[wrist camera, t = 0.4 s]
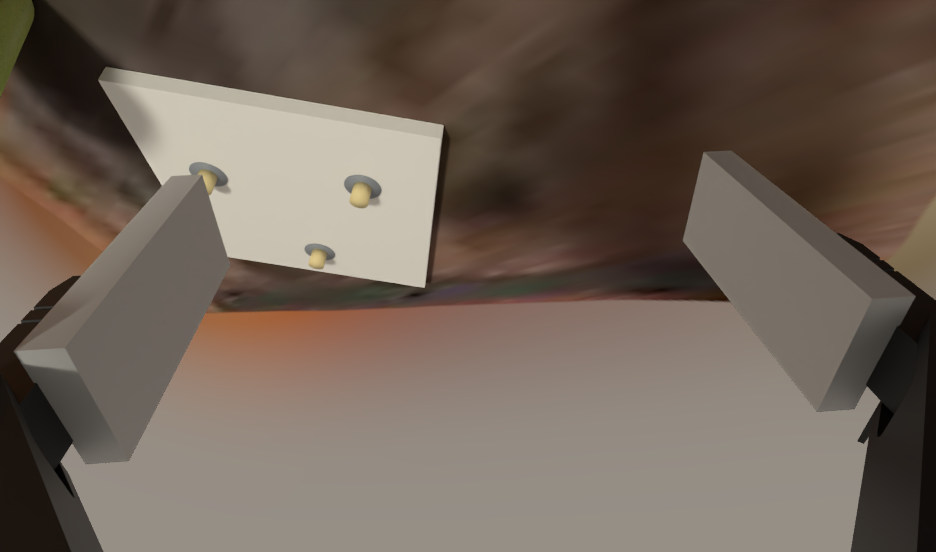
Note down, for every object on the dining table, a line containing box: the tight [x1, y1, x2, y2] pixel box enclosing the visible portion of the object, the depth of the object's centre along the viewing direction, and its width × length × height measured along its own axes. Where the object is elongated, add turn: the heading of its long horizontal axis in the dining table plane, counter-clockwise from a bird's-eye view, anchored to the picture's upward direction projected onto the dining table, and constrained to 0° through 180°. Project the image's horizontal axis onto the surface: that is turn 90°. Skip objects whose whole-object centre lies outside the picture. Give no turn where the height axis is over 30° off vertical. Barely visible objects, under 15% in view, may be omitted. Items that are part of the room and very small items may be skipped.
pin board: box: [98, 67, 444, 288], centre depth 45 cm, size 22×22×3 cm
